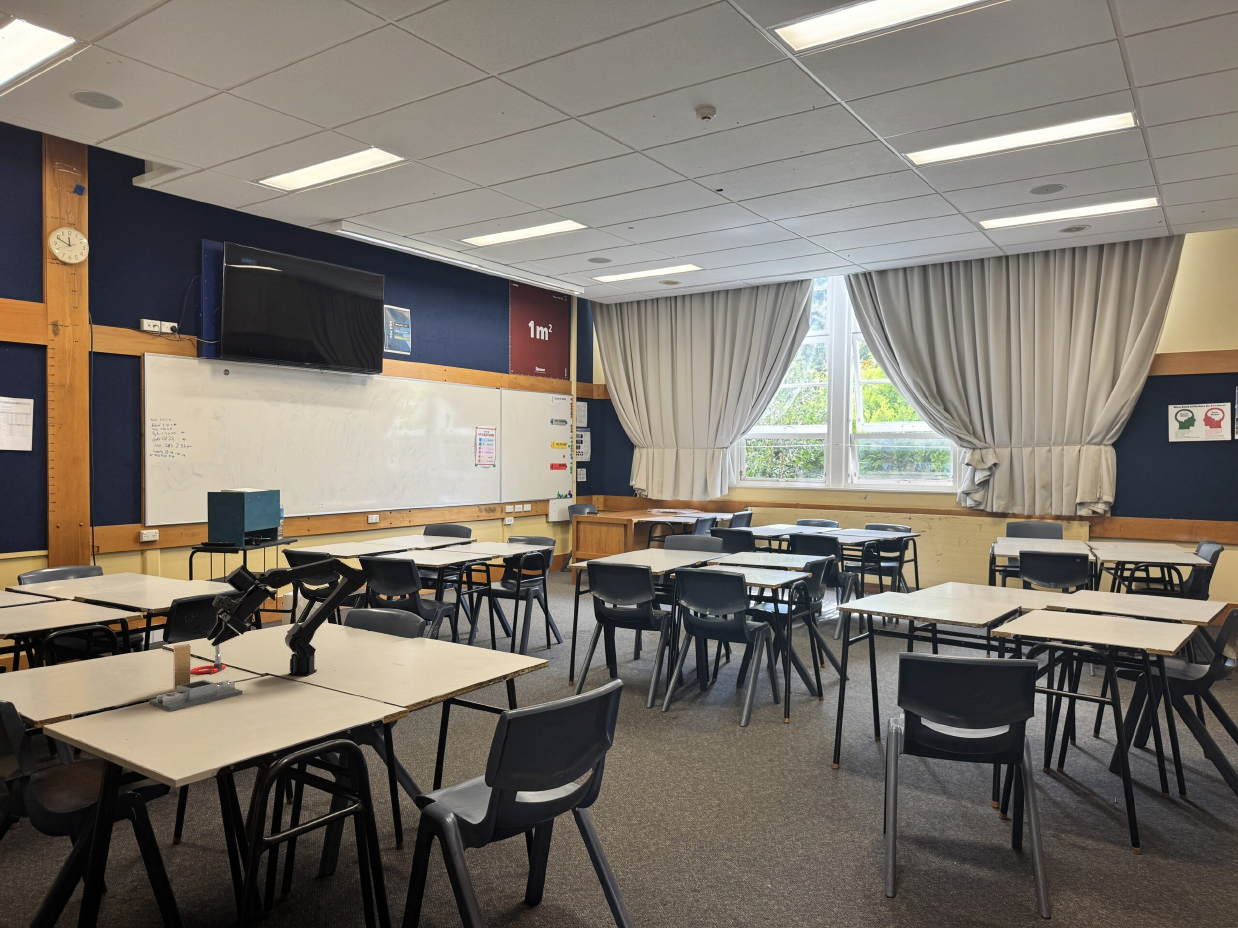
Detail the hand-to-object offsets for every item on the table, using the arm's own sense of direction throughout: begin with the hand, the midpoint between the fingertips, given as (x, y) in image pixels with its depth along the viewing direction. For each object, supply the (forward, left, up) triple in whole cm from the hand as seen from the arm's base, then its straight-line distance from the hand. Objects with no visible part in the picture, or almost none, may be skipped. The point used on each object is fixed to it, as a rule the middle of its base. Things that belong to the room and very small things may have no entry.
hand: (210, 642), depth 236 cm
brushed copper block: (+5, +5, -13) cm, 15 cm away
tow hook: (+12, -16, -13) cm, 24 cm away
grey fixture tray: (-5, +12, -13) cm, 18 cm away
